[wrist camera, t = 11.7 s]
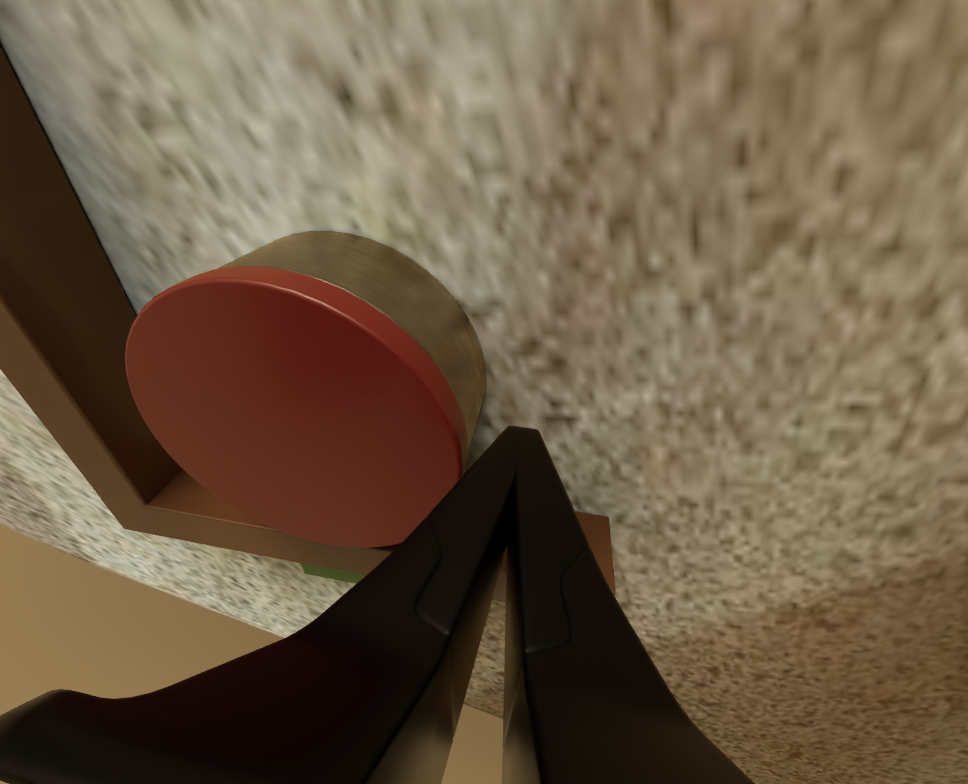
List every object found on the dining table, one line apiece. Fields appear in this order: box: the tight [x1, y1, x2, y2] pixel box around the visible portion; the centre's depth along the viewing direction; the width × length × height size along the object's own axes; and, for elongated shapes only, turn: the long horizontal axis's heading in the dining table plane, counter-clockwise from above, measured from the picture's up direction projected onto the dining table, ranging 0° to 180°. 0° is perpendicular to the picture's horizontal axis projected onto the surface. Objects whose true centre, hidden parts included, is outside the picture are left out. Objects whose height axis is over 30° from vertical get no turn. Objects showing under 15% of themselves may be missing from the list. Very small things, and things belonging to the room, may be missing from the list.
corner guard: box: [0, 47, 616, 602], centre depth 9 cm, size 16×17×2 cm
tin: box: [125, 231, 486, 548], centre depth 10 cm, size 7×7×3 cm
